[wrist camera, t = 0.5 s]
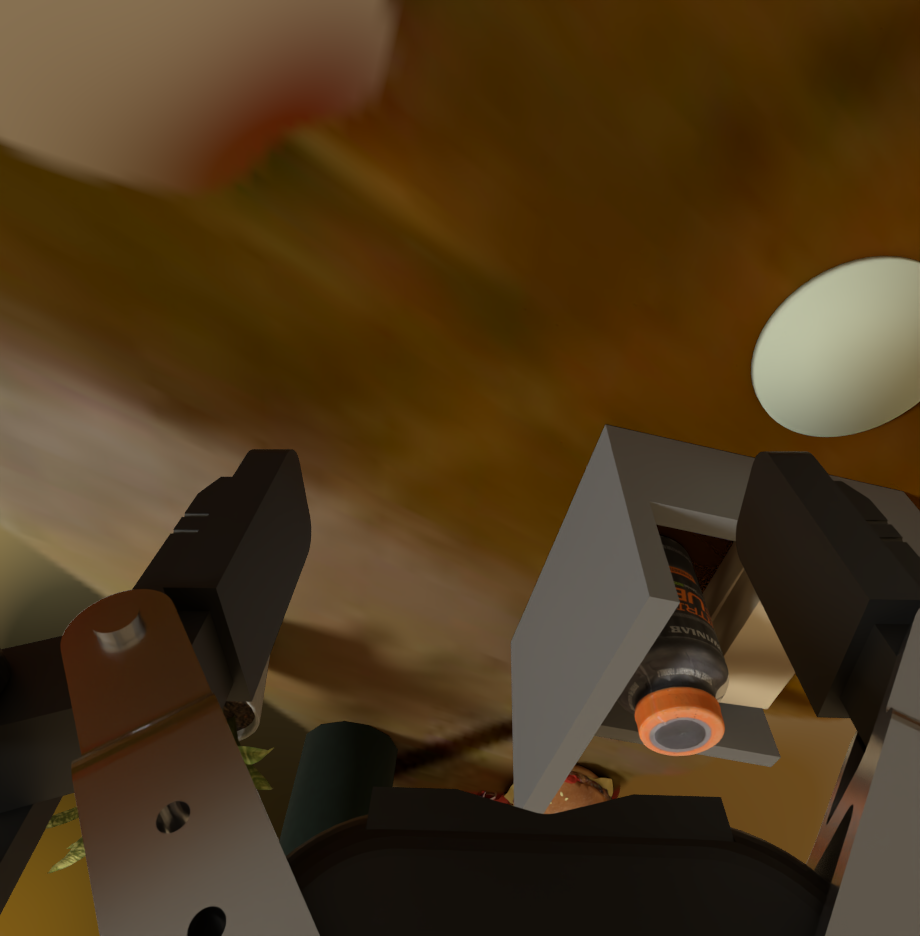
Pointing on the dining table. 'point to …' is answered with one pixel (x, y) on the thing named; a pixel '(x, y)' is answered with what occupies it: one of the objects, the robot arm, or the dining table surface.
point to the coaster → (843, 349)
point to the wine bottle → (336, 779)
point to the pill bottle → (680, 673)
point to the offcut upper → (750, 649)
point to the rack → (628, 601)
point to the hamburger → (569, 792)
